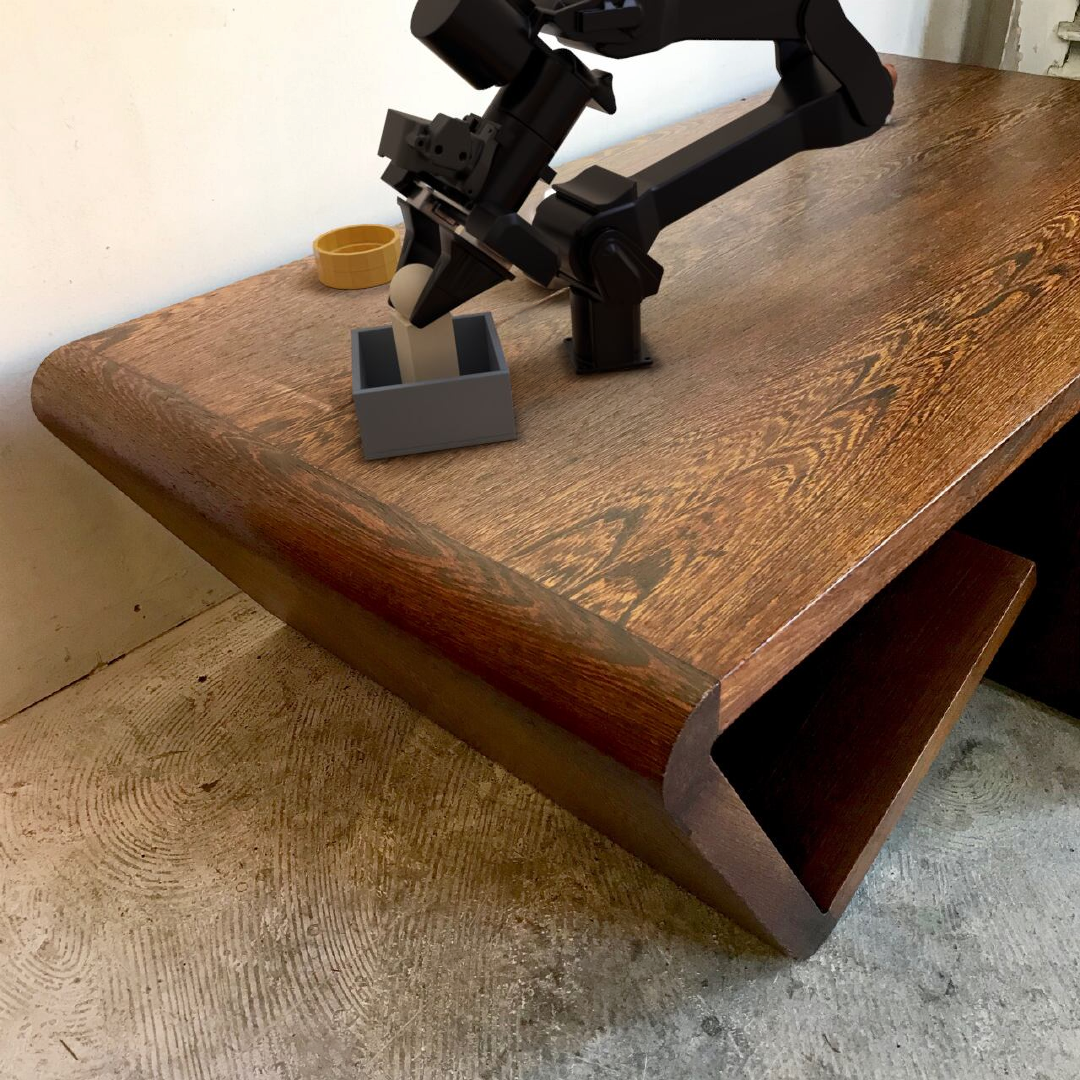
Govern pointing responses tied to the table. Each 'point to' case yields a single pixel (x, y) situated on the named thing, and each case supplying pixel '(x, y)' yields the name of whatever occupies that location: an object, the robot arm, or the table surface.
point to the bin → (432, 393)
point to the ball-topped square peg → (420, 331)
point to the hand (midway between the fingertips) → (403, 316)
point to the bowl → (357, 256)
